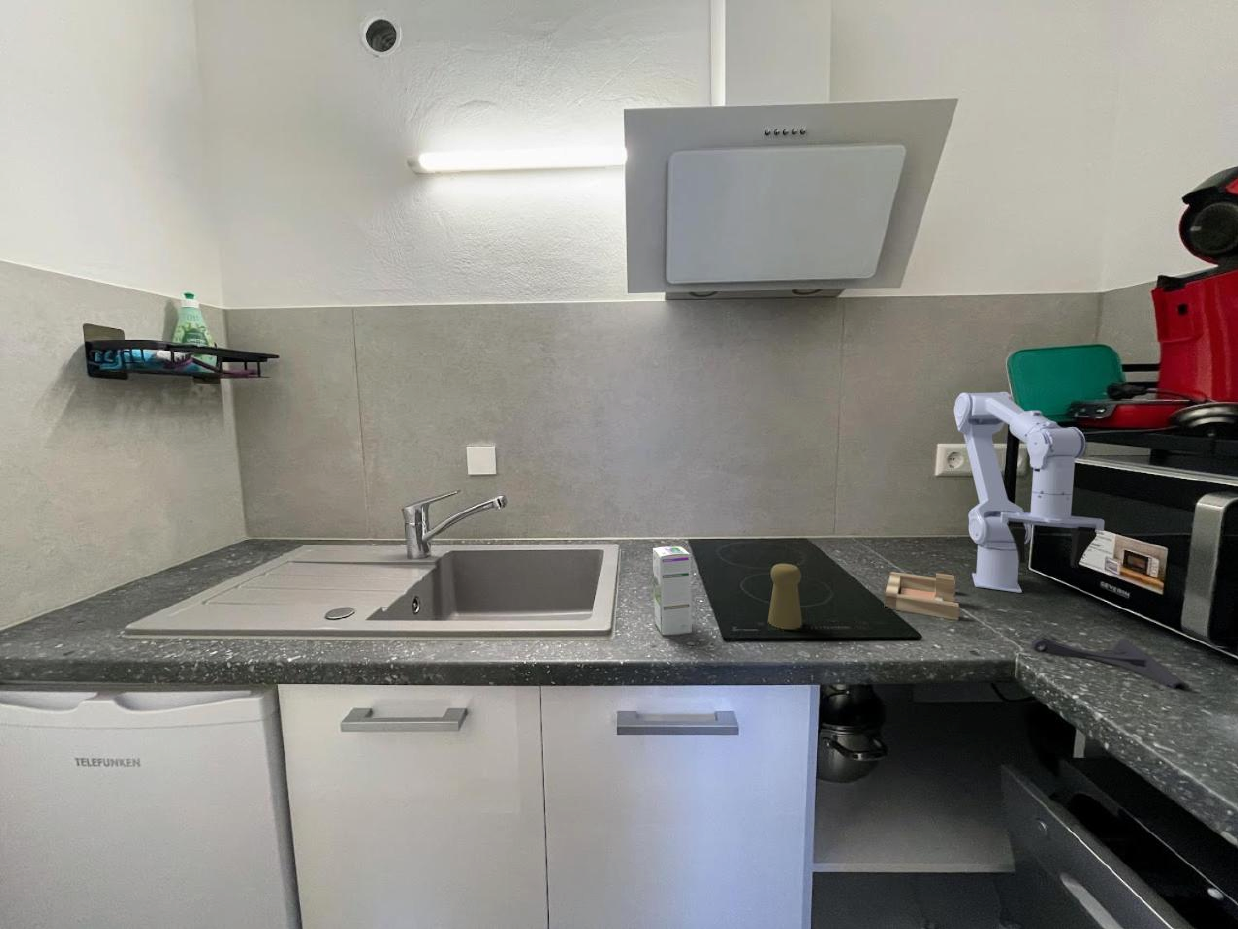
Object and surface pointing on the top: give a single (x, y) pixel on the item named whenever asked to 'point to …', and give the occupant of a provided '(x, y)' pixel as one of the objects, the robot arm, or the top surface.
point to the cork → (785, 597)
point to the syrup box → (672, 590)
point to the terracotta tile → (918, 593)
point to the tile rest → (916, 603)
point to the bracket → (1117, 659)
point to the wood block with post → (944, 587)
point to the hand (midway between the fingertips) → (1046, 563)
